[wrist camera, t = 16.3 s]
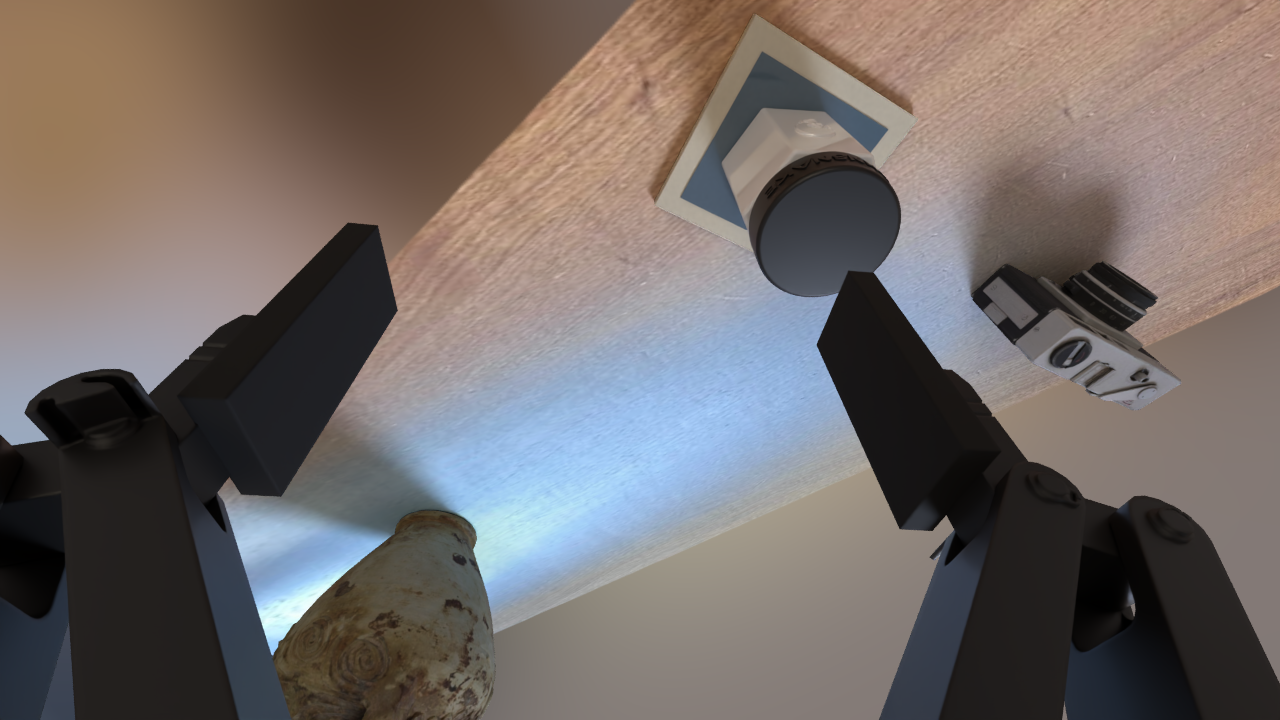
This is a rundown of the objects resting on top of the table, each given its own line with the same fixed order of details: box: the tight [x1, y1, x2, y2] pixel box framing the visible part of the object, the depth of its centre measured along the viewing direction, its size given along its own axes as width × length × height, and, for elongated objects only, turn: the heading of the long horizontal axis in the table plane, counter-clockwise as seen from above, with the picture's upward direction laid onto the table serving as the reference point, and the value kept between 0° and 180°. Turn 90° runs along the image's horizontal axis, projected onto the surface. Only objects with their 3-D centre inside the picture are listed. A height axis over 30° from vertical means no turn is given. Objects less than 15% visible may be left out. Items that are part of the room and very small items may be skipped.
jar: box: [722, 108, 901, 297], centre depth 33 cm, size 9×8×12 cm
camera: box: [971, 261, 1181, 410], centre depth 43 cm, size 14×9×10 cm, turn 57°
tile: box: [654, 13, 918, 253], centre depth 38 cm, size 14×14×1 cm
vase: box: [273, 510, 496, 720], centre depth 59 cm, size 23×23×30 cm
